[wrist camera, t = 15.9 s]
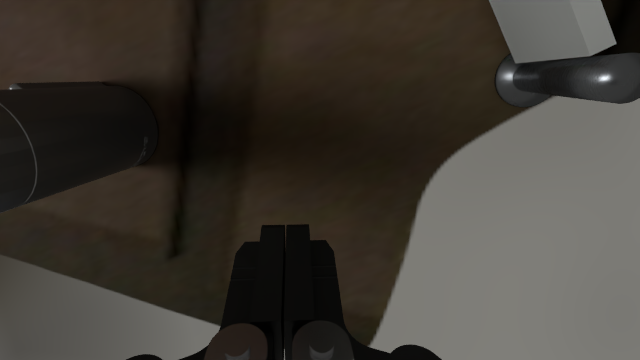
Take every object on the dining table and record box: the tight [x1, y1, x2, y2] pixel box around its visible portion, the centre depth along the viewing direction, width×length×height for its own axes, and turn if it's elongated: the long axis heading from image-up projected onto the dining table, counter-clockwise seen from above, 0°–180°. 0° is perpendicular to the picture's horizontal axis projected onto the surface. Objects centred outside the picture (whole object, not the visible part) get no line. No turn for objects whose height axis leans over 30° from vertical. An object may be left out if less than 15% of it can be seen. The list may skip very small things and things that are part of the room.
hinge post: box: [495, 53, 640, 107], centre depth 24 cm, size 5×5×14 cm
